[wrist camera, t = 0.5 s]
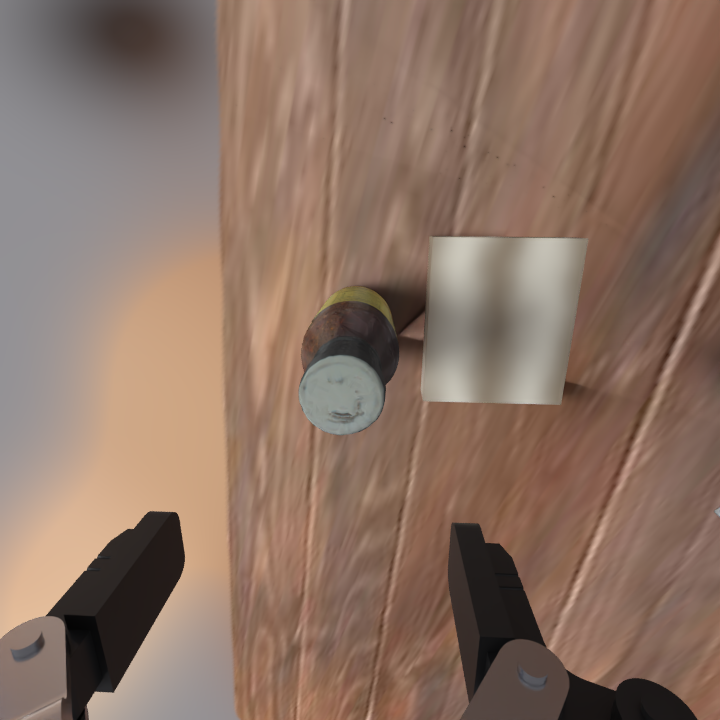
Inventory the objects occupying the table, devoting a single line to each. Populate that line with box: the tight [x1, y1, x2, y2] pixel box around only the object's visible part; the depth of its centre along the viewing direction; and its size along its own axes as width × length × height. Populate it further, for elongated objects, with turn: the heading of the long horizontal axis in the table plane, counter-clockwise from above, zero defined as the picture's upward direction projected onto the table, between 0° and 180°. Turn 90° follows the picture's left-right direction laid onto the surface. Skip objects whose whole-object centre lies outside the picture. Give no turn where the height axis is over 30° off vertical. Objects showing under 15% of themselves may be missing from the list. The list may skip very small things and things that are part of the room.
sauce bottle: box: [299, 286, 399, 435], centre depth 29 cm, size 7×6×20 cm
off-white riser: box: [421, 236, 588, 405], centre depth 37 cm, size 12×14×3 cm
